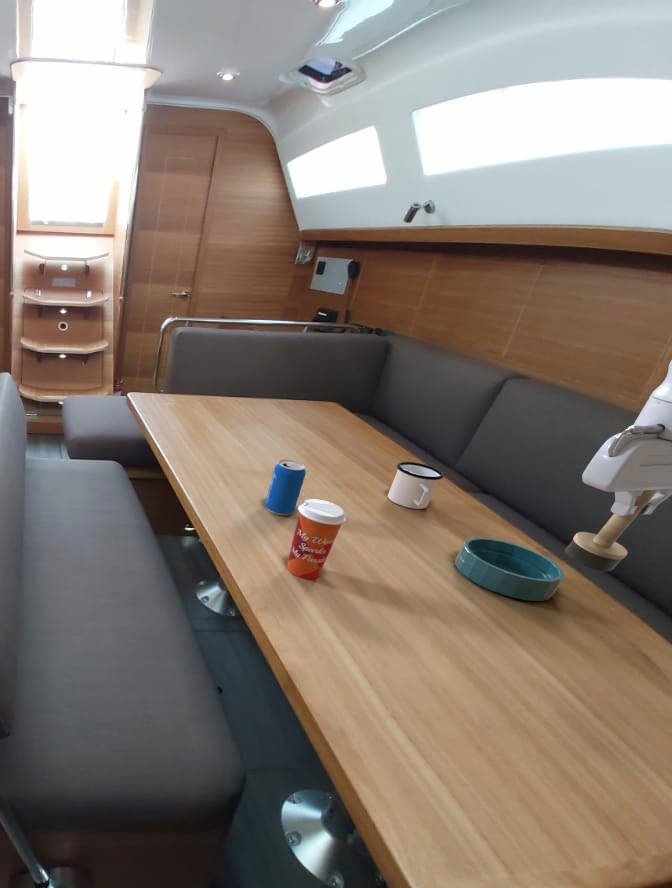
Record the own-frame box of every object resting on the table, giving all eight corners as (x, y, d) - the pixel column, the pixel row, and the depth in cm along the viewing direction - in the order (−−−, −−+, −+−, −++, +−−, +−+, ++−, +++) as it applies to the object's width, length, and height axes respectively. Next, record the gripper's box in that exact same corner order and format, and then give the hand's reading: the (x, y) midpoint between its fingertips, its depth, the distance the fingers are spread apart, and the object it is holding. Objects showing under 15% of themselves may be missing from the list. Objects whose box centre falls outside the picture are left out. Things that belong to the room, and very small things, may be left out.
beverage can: (260, 502, 122) (272, 457, 117) (288, 505, 121) (301, 460, 116) (268, 515, 116) (281, 468, 111) (297, 518, 115) (311, 471, 110)
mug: (380, 490, 131) (392, 459, 127) (421, 496, 128) (435, 464, 124) (394, 511, 120) (408, 477, 116) (439, 518, 118) (455, 484, 114)
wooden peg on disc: (600, 553, 79) (664, 477, 72) (622, 576, 75) (693, 497, 67) (556, 543, 81) (613, 469, 74) (575, 565, 76) (638, 488, 69)
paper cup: (280, 575, 95) (300, 511, 89) (281, 555, 101) (300, 494, 95) (326, 587, 92) (350, 522, 86) (324, 566, 98) (346, 503, 92)
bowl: (528, 568, 100) (540, 547, 98) (567, 612, 88) (582, 589, 86) (443, 551, 105) (453, 531, 102) (469, 591, 92) (481, 569, 90)
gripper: (654, 434, 63) (597, 528, 69) (778, 430, 66) (712, 520, 72) (596, 418, 68) (548, 506, 74) (712, 415, 71) (657, 500, 77)
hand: (629, 513), depth 73 cm, fingers closed on wooden peg on disc
